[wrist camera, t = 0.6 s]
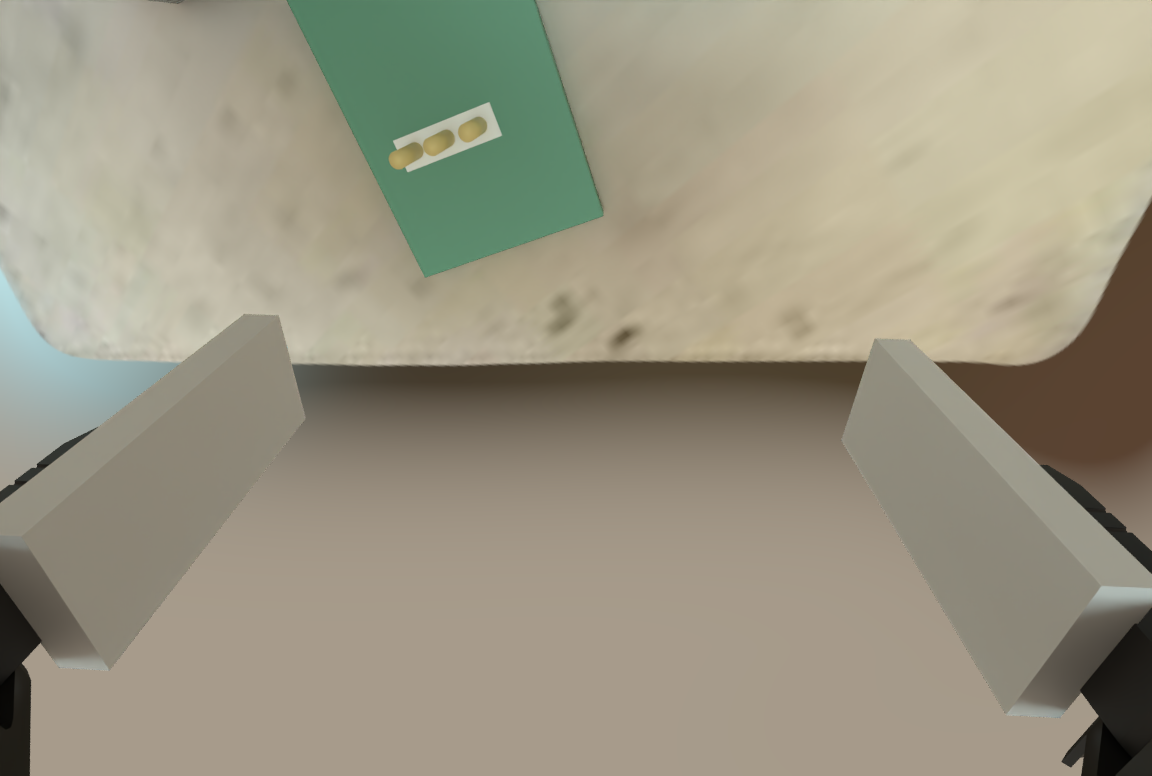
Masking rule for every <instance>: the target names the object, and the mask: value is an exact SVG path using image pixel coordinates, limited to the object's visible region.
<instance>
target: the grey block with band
mask: <svg viewBox="0 0 1152 776" xmlns="http://www.w3.org/2000/svg"><path fill="white" fill-rule="evenodd" d="M150 1H159V2H168V3H176V4H178V3H180V2H182V1H184V0H150Z"/></svg>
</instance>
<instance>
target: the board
mask: <svg viewBox="0 0 1152 776" xmlns="http://www.w3.org/2000/svg"><path fill="white" fill-rule="evenodd" d="M287 2H288V4H289V6H290V8H291V10H292V12H293V14H294V16H295V18H296V20H297V22H298V24H299V26H300V28H301V30H302V32H303V34H304V36H305V38H306V40H307V42H308V44H309V46H310V48H311V50H312V52H313V54H314V56H315V58H316V60H317V62H318V64H319V66H320V68H321V70H322V72H323V74H324V76H325V78H326V80H327V82H328V84H329V86H330V88H331V90H332V92H333V94H334V96H335V98H336V100H337V102H338V104H339V106H340V108H341V110H342V112H343V114H344V116H345V118H346V120H347V122H348V124H349V126H350V128H351V130H352V132H353V134H354V136H355V138H356V140H357V142H358V144H359V146H360V148H361V150H362V152H363V154H364V156H365V158H366V160H367V162H368V164H369V166H370V168H371V170H372V172H373V174H374V176H375V178H376V180H377V182H378V184H379V186H380V188H381V190H382V192H383V194H384V196H385V198H386V200H387V202H388V204H389V206H390V208H391V210H392V212H393V214H394V216H395V218H396V220H397V222H398V224H399V226H400V228H401V230H402V232H403V234H404V236H405V238H406V240H407V242H408V244H409V246H410V248H411V250H412V252H413V254H414V256H415V258H416V260H417V262H418V264H419V266H420V268H421V270H422V272H423V274H424V276H425V277H428V276H431V275H434V274H437V273H440V272H443V271H446V270H449V269H451V268H454V267H457V266H460V265H463V264H466V263H469V262H472V261H475V260H478V259H480V258H483V257H486V256H489V255H492V254H495V253H498V252H501V251H504V250H506V249H509V248H512V247H515V246H518V245H521V244H524V243H527V242H530V241H533V240H535V239H538V238H541V237H544V236H547V235H550V234H553V233H556V232H559V231H562V230H564V229H567V228H570V227H573V226H576V225H579V224H582V223H585V222H588V221H591V220H593V219H596V218H599V217H602V216H603V208H602V205H601V202H600V199H599V196H598V193H597V190H596V187H595V184H594V180H593V177H592V174H591V171H590V168H589V165H588V162H587V159H586V156H585V153H584V149H583V146H582V143H581V140H580V137H579V134H578V131H577V128H576V125H575V122H574V118H573V115H572V112H571V109H570V106H569V103H568V100H567V97H566V94H565V91H564V87H563V84H562V81H561V78H560V75H559V72H558V69H557V66H556V63H555V60H554V56H553V53H552V50H551V47H550V44H549V41H548V38H547V35H546V32H545V29H544V25H543V22H542V19H541V16H540V13H539V10H538V7H537V4H536V1H535V0H287Z"/></svg>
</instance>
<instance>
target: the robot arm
mask: <svg viewBox="0 0 1152 776" xmlns="http://www.w3.org/2000/svg"><path fill="white" fill-rule="evenodd" d="M305 419H306V417H305V414H304V410H303V406H302V402H301V399H300V395H299V391H298V387H297V384H296V380H295V376H294V372H293V368H292V364H291V361H290V357H289V353H288V349H287V346H286V342H285V338H284V334H283V330H282V327H281V323H280V319H279V316H278V315H252V314H244V315H243V316H241V317H240V318H239V319H238V320H236V321H235V322H234V323H232V324H231V325H230V326H229V327H227V328H226V329H225V330H223V331H222V332H221V333H219V334H218V335H217V336H216V337H214V338H213V339H212V340H210V341H209V342H208V343H207V344H205V345H204V346H203V347H201V348H200V349H199V350H198V351H196V352H195V353H194V354H192V355H191V356H190V357H188V358H187V359H186V360H185V361H183V362H182V363H181V364H179V365H178V366H177V367H176V368H174V369H173V370H172V371H170V372H169V373H168V374H166V375H165V376H164V377H163V378H161V379H160V380H159V381H157V382H156V383H155V384H154V385H152V386H151V387H150V388H148V389H147V390H146V391H144V392H143V393H142V394H141V395H139V396H138V397H137V398H135V399H134V400H133V401H132V402H130V403H129V404H128V405H127V406H125V407H124V408H123V409H121V410H120V411H119V412H117V413H116V414H115V415H113V416H112V417H111V418H110V419H108V420H107V421H106V422H104V423H103V424H102V425H100V426H99V427H97V428H95V429H93V430H91V431H89V432H87V433H85V434H83V435H81V436H78V437H77V438H74V439H72V440H70V441H69V442H66V443H64V444H63V445H61V446H60V447H59V448H57V449H56V450H55V451H53V452H52V453H51V454H50V455H48V456H47V457H45V458H44V459H43V460H42V461H40V462H39V463H38V464H37V468H31V469H30V470H28V471H27V472H26V473H24V474H23V475H22V476H21V477H19V478H18V479H16V480H15V484H14V485H8V486H7V487H6V488H4V489H3V490H2V491H0V776H30V713H31V712H30V711H31V679H30V677H29V674H28V671H27V669H26V668H25V667H24V666H23V664H22V662H23V661H24V660H25V659H26V658H27V657H28V656H29V654H30V653H31V652H32V651H33V650H34V649H35V648H36V647H37V646H38V645H39V644H40V643H41V644H42V645H43V647H44V648H45V649H46V651H47V652H48V653H49V655H50V656H51V658H52V659H53V660H54V662H55V663H56V664H57V666H58V667H59V668H72V669H92V670H110V669H111V668H112V667H113V666H114V664H115V663H116V662H117V660H118V659H119V658H120V657H121V655H122V654H123V653H124V651H125V650H126V649H127V648H128V646H129V645H130V644H131V642H132V641H133V640H134V639H135V637H136V636H137V635H138V633H139V632H140V631H141V630H142V628H143V627H144V626H145V624H146V623H147V622H148V621H149V619H150V618H151V617H152V615H153V614H154V613H155V612H156V610H157V609H158V608H159V606H160V605H161V604H162V602H163V601H164V600H165V598H166V597H167V596H168V595H169V593H170V592H171V591H172V590H173V588H174V587H175V586H176V585H177V583H178V582H179V581H180V579H181V578H182V577H183V575H184V574H185V573H186V572H187V570H188V569H189V568H190V566H191V565H192V564H193V563H194V561H195V560H196V559H197V557H198V556H199V555H200V554H201V552H202V551H203V550H204V549H205V547H206V546H207V545H208V543H209V542H210V541H211V539H212V538H213V537H214V536H215V534H216V533H217V531H218V530H219V529H220V528H221V527H222V525H223V524H224V523H225V521H226V520H227V519H228V518H229V516H230V515H231V513H232V512H233V511H234V510H235V509H236V507H237V506H238V505H239V503H240V502H241V501H242V500H243V498H244V497H245V496H246V494H247V493H248V492H249V491H250V489H251V488H252V487H253V485H254V484H255V483H256V482H257V480H258V479H259V478H260V476H261V475H262V474H263V473H264V471H265V470H266V468H267V467H268V466H269V465H270V463H271V462H272V461H273V460H274V458H275V457H276V456H277V455H278V453H279V452H280V451H281V449H282V448H283V447H284V446H285V444H286V443H287V442H288V440H289V439H290V438H291V436H292V435H293V434H294V433H295V431H296V430H297V429H298V428H299V426H300V425H301V424H302V422H303V421H304V420H305ZM841 441H842V443H843V444H844V446H845V447H846V449H847V451H848V453H849V454H850V456H851V458H852V459H853V461H854V463H855V464H856V466H857V467H858V469H859V471H860V472H861V474H862V475H863V478H864V479H865V481H866V482H867V484H868V486H869V488H870V489H871V491H872V492H873V494H874V496H875V497H876V499H877V501H878V502H879V504H880V506H881V508H882V509H883V511H884V513H885V514H886V516H887V517H888V519H889V521H890V522H891V524H892V526H893V528H894V529H895V531H896V532H897V534H898V536H899V538H900V539H901V541H902V543H903V544H904V546H905V548H906V549H907V551H908V553H909V554H910V556H911V557H912V559H913V560H914V562H915V564H916V566H917V567H918V569H919V571H920V572H921V574H922V576H923V578H924V579H925V581H926V582H927V584H928V586H929V587H930V589H931V591H932V593H933V594H934V596H935V597H936V599H937V601H938V603H939V604H940V606H941V608H942V609H943V611H944V613H945V614H946V616H947V617H948V619H949V621H950V623H951V624H952V626H953V627H954V629H955V631H956V633H957V634H958V636H959V638H960V639H961V641H962V643H963V644H964V646H965V647H966V649H967V651H968V652H969V654H970V656H971V658H972V659H973V661H974V663H975V664H976V666H977V667H978V669H979V671H980V672H981V674H982V676H983V678H984V679H985V681H986V683H987V684H988V686H989V688H990V689H991V691H992V692H993V694H994V696H995V698H996V699H997V701H998V702H999V704H1000V706H1001V707H1002V709H1003V711H1004V713H1005V714H1006V715H1013V716H1033V717H1053V718H1060V717H1061V716H1062V715H1063V714H1064V712H1065V711H1066V710H1067V709H1068V708H1069V706H1070V705H1071V704H1072V702H1074V700H1075V699H1076V698H1077V697H1078V696H1079V694H1080V693H1082V694H1083V695H1084V697H1085V698H1086V699H1087V701H1088V702H1089V703H1090V705H1091V706H1092V708H1093V709H1094V710H1095V712H1096V713H1097V714H1098V715H1099V717H1098V718H1097V719H1096V720H1095V721H1094V722H1093V723H1092V725H1091V726H1090V727H1089V728H1088V729H1087V730H1086V731H1085V732H1084V734H1083V735H1082V736H1081V737H1080V738H1079V739H1078V740H1077V742H1076V743H1075V744H1074V745H1073V746H1072V747H1071V748H1070V749H1069V750H1068V752H1067V753H1066V755H1065V757H1064V758H1063V760H1062V762H1063V763H1064V764H1066V765H1067V766H1069V767H1072V765H1074V764H1075V763H1076V761H1077V760H1078V759H1079V758H1081V757H1084V759H1083V766H1082V774H1081V776H1152V551H1151V550H1150V549H1149V548H1148V547H1147V546H1146V545H1145V544H1143V543H1142V542H1141V541H1140V540H1139V539H1138V538H1137V537H1136V536H1135V535H1134V534H1133V533H1127V531H1126V527H1125V526H1124V525H1123V524H1122V523H1121V522H1120V521H1119V520H1118V519H1117V518H1115V517H1114V516H1113V515H1112V514H1111V513H1106V511H1105V507H1104V506H1103V505H1102V504H1100V503H1099V502H1098V501H1097V500H1096V499H1095V498H1094V497H1093V496H1092V495H1091V494H1090V493H1089V492H1088V491H1086V490H1085V489H1084V488H1083V487H1082V486H1081V485H1079V484H1078V483H1076V482H1075V481H1073V480H1071V479H1070V478H1068V477H1066V476H1065V475H1063V474H1061V473H1060V472H1058V471H1056V470H1055V469H1053V468H1051V467H1050V466H1048V465H1039V464H1038V463H1037V462H1035V460H1034V459H1033V458H1031V457H1030V456H1029V455H1028V454H1027V453H1026V452H1025V451H1024V450H1023V449H1022V448H1021V447H1020V446H1019V445H1018V444H1017V443H1016V442H1015V441H1014V440H1013V439H1012V438H1011V437H1010V436H1009V435H1008V434H1007V433H1006V432H1005V431H1003V429H1002V428H1001V427H1000V426H999V425H997V424H996V423H995V422H994V421H993V420H992V419H991V418H990V417H989V416H988V415H987V414H986V413H985V412H984V411H983V410H982V409H981V408H980V407H979V406H978V405H977V404H976V403H975V402H974V401H973V400H972V399H971V398H970V397H969V396H968V395H966V393H965V392H963V391H962V390H961V389H960V388H959V387H958V386H957V385H956V384H955V383H954V382H953V381H952V380H951V379H950V378H949V377H948V376H947V375H946V374H945V373H944V372H943V371H942V370H941V369H940V368H939V367H938V366H937V365H936V364H935V363H934V362H933V361H932V360H931V359H930V358H928V357H927V356H926V355H925V354H924V353H923V352H922V351H921V350H920V349H919V348H918V347H917V346H916V345H915V344H914V343H913V342H912V341H911V340H901V339H875V340H874V343H873V346H872V349H871V352H870V355H869V358H868V361H867V364H866V367H865V370H864V373H863V376H862V379H861V383H860V386H859V388H858V391H857V395H856V398H855V401H854V404H853V407H852V410H851V413H850V416H849V419H848V422H847V425H846V428H845V431H844V434H843V437H842V440H841Z"/></svg>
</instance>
